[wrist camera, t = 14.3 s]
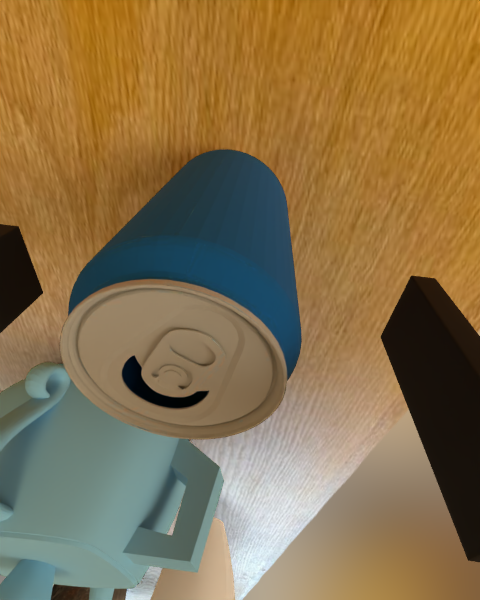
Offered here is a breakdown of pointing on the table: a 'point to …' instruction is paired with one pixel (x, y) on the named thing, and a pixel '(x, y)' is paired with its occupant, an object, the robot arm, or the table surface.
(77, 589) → the brown clay pot
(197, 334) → the beverage can
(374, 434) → the table surface
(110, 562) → the teapot
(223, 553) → the cup
